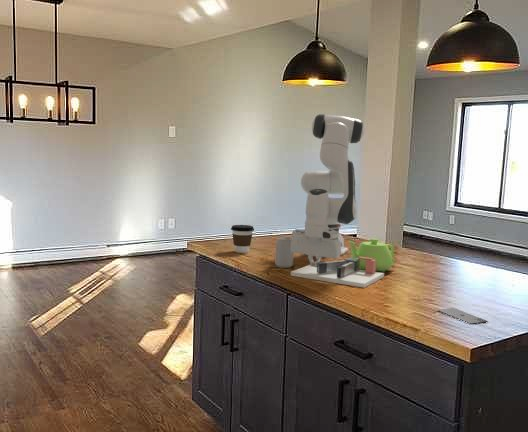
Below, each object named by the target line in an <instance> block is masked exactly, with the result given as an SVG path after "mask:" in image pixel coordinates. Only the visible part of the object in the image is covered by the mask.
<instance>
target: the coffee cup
mask: <svg viewBox="0 0 528 432" xmlns="http://www.w3.org/2000/svg"><path fill="white" fill-rule="evenodd" d="M231 230H232V243H233V246H234V251H235V252H236V253H239V254H247V253H249V251H250V248H251V247H250V246H251V243H252V237H253V231H255V228H254V225H249V224H234V225H233V224H232V225H231V228H230V231H231Z"/></svg>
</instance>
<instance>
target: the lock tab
mask: <svg viewBox="0 0 528 432" xmlns="http://www.w3.org/2000/svg"><path fill="white" fill-rule="evenodd" d="M358 259H363V260H366V272H365V273H371V274H373V273H375V272H377V271H376V260H373V258H367V257H358Z"/></svg>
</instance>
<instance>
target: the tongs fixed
mask: <svg viewBox="0 0 528 432" xmlns="http://www.w3.org/2000/svg"><path fill="white" fill-rule="evenodd" d="M343 260H346V261H347V264H345V265H342V266H340V267H337V277H338V278H342V277H344V276H345V275H348V274H350V273H352V272H357V271H359V269H360V268H359V267H360V259H358V258H352V256H349V257H346V258H344V259H343Z"/></svg>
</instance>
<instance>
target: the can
mask: <svg viewBox="0 0 528 432" xmlns="http://www.w3.org/2000/svg"><path fill="white" fill-rule="evenodd" d="M291 241H292V237H284V236H282V237H278V238H277V240H276V242H275V254H274V255H275V257H274V258H275V259H274V260H275V261H274V265H275V266H276V267H277V268H281V269H289V268H291V267H292V266H294V253H293V252H291V250H290V248H291Z"/></svg>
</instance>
